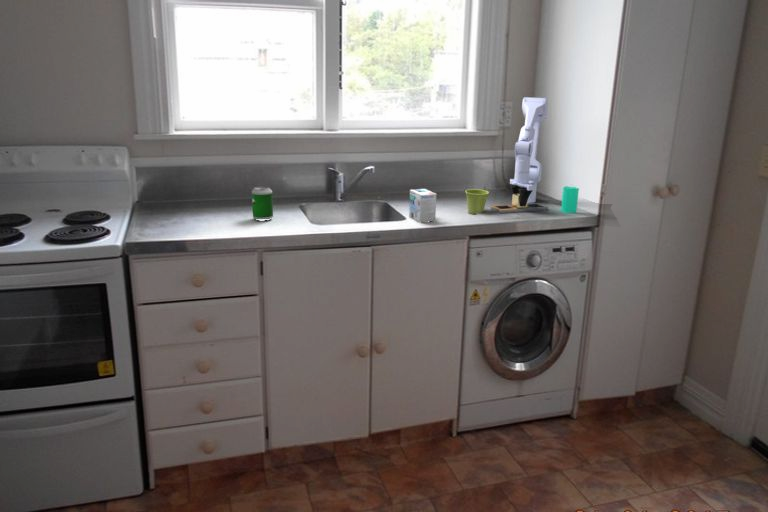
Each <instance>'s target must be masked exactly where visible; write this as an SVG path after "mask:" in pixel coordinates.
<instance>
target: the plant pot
mask: <svg viewBox="0 0 768 512" xmlns="http://www.w3.org/2000/svg"><path fill="white" fill-rule="evenodd" d="M464 192H465V193H466V194H465V195H466V201H467V213H469V214H471V215H477V214H478V213H479V214H481V213H483V212H484V211H485V208H486V207H485V206H486V202H487V199H488V195H489V194H490V193H489V192H490V191H488V190H484V189H477V188H475V189H474V188H473V189H472V188H471V189H466V190H464Z"/></svg>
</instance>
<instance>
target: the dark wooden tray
mask: <svg viewBox="0 0 768 512" xmlns="http://www.w3.org/2000/svg"><path fill="white" fill-rule="evenodd" d="M548 209H549V208H548V206H545V204H544V205H543V204H540V203H528V205H527V208H523V209H517V208H515V207H513V206H512V204H501V205H491V207H490V210H491V211H493V212H495V213H497V214H512V213H524V212H525V213H526V212H527V213H528V212H540V211H548Z"/></svg>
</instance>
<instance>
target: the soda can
mask: <svg viewBox="0 0 768 512" xmlns="http://www.w3.org/2000/svg"><path fill="white" fill-rule="evenodd" d="M251 200H252V201H251V203H252V204H251V205H252V218H253V219H254V218H255V219H270V218H272V217H273V218H274V210H273V209H274V205H273V203H274V202H273V201H274V199H273V190H272V189H271V188H270V187H269V186H256V187H254V188H253V189H252V190H251ZM273 218H272V219H273ZM255 219H254V220H255Z"/></svg>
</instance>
